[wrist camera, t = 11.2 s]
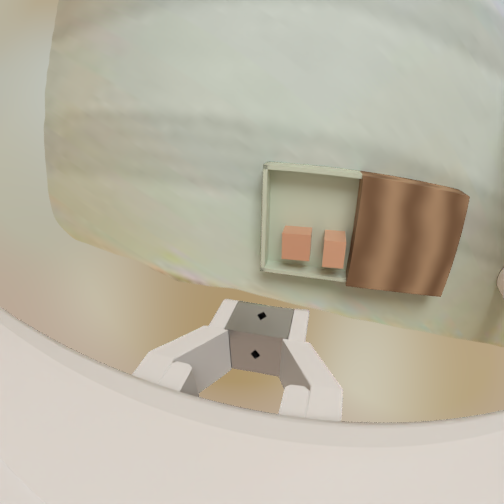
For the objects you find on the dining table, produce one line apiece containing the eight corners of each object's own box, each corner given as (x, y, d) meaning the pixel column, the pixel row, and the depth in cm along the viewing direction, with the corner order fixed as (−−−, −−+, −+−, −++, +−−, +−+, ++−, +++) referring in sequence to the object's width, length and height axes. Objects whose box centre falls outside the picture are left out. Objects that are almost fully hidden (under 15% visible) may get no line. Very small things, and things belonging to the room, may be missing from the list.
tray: (359, 170, 36) (362, 174, 33) (345, 272, 43) (345, 282, 40) (267, 161, 38) (263, 164, 36) (264, 261, 46) (260, 270, 43)
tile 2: (324, 229, 40) (345, 231, 39) (322, 254, 42) (342, 255, 41) (324, 240, 37) (346, 242, 36) (321, 266, 38) (343, 268, 38)
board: (458, 189, 32) (469, 196, 28) (433, 283, 39) (440, 296, 36) (359, 170, 36) (363, 176, 32) (345, 272, 43) (345, 285, 39)
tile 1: (282, 232, 39) (285, 225, 41) (281, 258, 41) (284, 249, 43) (310, 235, 38) (312, 227, 40) (309, 261, 40) (310, 252, 42)
